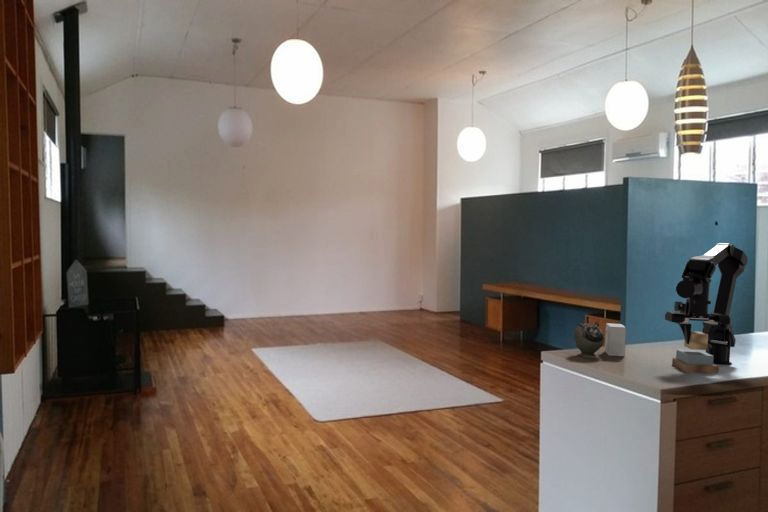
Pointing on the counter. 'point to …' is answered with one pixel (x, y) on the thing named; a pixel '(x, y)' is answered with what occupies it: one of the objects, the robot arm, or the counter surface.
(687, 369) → the tower base
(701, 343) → the oak block
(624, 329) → the small box
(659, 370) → the counter surface
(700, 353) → the tower top
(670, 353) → the counter surface
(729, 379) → the counter surface
